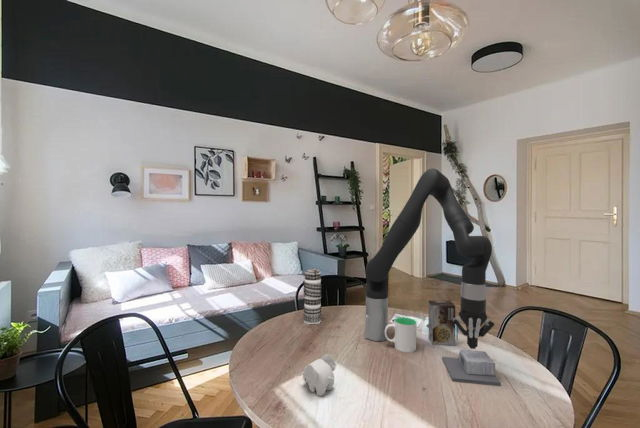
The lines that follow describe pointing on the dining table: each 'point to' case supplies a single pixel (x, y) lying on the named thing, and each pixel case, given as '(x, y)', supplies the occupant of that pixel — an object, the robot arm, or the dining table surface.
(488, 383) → the rubber mat
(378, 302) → the robot arm
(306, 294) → the decorative candle
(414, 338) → the mug
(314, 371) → the elephant figurine
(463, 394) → the dining table surface
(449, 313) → the coffee box
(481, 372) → the medicine box
